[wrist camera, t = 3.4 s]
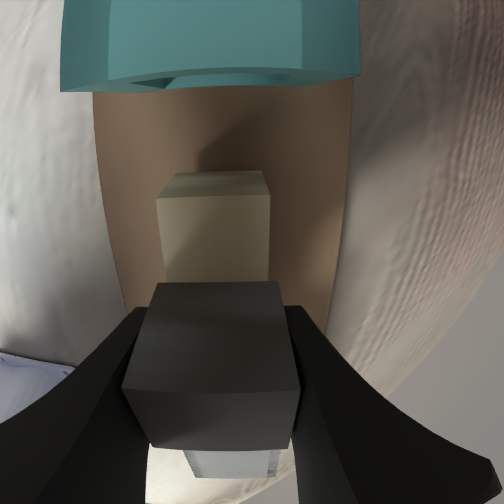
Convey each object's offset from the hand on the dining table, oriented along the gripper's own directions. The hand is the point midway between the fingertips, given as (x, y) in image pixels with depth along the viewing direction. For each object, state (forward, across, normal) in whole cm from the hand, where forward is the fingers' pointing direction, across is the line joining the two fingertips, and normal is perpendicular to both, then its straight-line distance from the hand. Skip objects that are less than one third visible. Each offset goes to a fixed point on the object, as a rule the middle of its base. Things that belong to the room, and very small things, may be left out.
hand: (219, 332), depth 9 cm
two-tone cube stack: (+4, 0, +3) cm, 5 cm away
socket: (+5, 0, -9) cm, 10 cm away
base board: (+6, 0, +1) cm, 6 cm away
